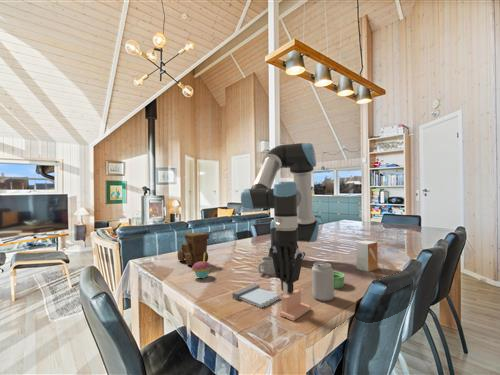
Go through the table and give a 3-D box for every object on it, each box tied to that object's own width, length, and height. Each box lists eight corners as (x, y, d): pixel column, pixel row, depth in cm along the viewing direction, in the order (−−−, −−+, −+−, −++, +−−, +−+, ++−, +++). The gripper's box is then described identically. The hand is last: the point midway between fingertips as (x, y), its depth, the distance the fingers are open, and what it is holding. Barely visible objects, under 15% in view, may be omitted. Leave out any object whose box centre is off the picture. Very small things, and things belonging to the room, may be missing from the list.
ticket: (232, 298, 92) (232, 292, 92) (255, 288, 100) (254, 283, 100) (259, 309, 83) (259, 303, 83) (281, 297, 91) (281, 292, 91)
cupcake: (214, 275, 118) (213, 249, 118) (205, 281, 110) (204, 253, 110) (198, 273, 121) (197, 248, 121) (188, 279, 113) (188, 252, 113)
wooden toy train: (211, 264, 136) (210, 233, 136) (191, 268, 129) (191, 236, 129) (194, 257, 151) (193, 229, 152) (175, 261, 144) (175, 231, 144)
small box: (368, 272, 117) (367, 244, 118) (356, 268, 123) (355, 242, 123) (378, 268, 122) (377, 241, 122) (366, 265, 127) (365, 240, 127)
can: (309, 294, 94) (308, 261, 94) (329, 292, 95) (328, 260, 95) (316, 302, 87) (315, 267, 87) (337, 301, 87) (336, 266, 88)
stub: (279, 315, 78) (279, 297, 78) (298, 304, 85) (297, 288, 85) (293, 320, 75) (293, 302, 75) (311, 309, 82) (310, 292, 82)
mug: (267, 269, 125) (267, 256, 125) (278, 272, 120) (277, 258, 120) (253, 274, 118) (253, 260, 118) (264, 277, 113) (263, 263, 113)
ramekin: (342, 290, 97) (341, 279, 97) (318, 286, 101) (318, 275, 102) (346, 283, 104) (346, 272, 104) (325, 279, 109) (324, 269, 109)
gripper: (263, 228, 84) (264, 299, 84) (296, 232, 75) (298, 312, 75) (277, 225, 90) (278, 292, 89) (309, 229, 81) (311, 303, 80)
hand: (287, 301), depth 82 cm, fingers closed
